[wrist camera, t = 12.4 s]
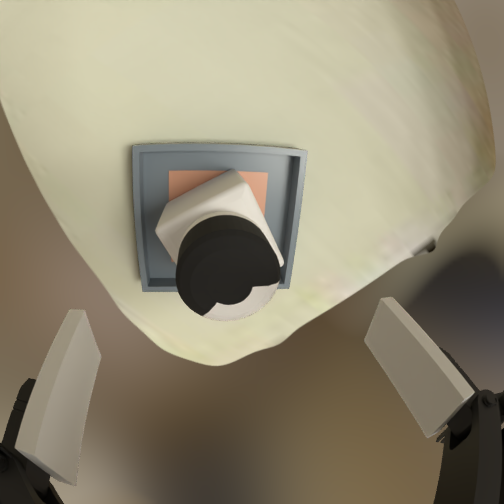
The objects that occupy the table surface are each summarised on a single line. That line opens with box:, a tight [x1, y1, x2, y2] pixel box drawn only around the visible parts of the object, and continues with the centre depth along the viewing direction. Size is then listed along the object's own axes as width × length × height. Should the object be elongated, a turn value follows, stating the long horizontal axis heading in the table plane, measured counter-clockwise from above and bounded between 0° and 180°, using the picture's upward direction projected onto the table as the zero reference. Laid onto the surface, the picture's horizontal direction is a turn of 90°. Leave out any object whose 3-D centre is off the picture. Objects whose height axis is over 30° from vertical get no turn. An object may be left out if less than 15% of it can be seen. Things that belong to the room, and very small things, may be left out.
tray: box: [132, 143, 308, 292], centre depth 25 cm, size 14×15×2 cm
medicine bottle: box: [155, 169, 284, 321], centre depth 20 cm, size 7×7×12 cm
